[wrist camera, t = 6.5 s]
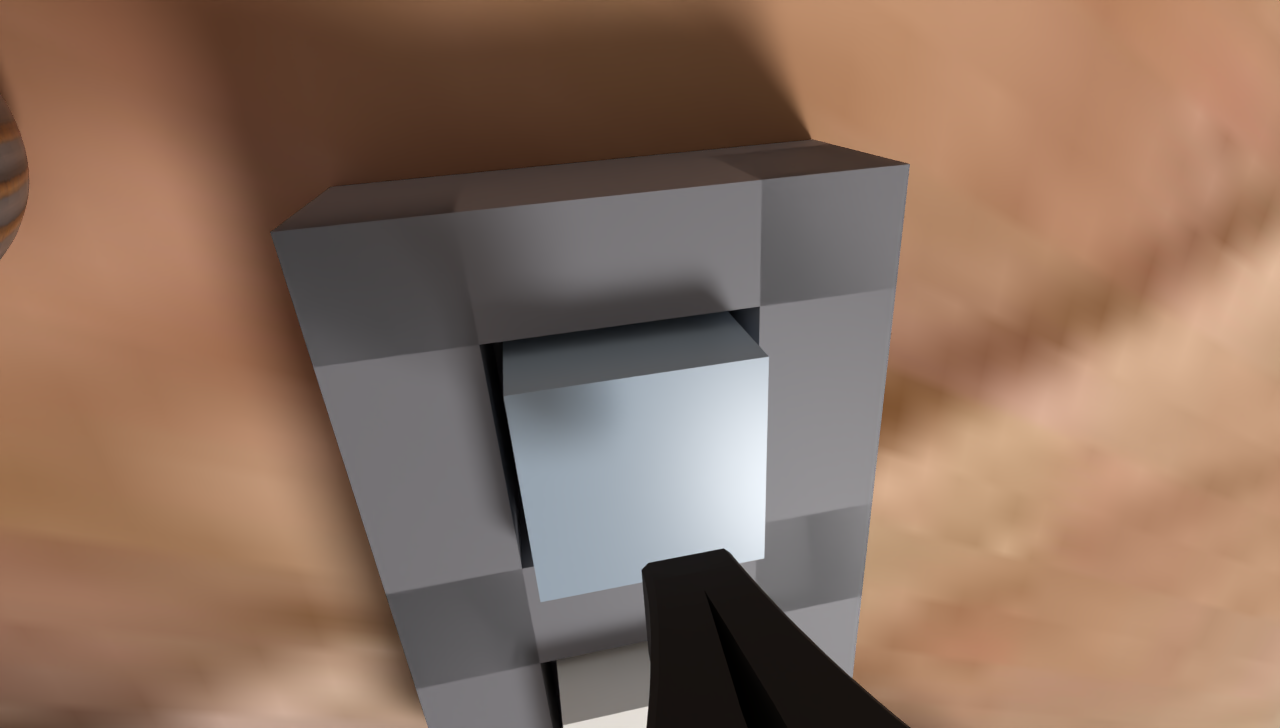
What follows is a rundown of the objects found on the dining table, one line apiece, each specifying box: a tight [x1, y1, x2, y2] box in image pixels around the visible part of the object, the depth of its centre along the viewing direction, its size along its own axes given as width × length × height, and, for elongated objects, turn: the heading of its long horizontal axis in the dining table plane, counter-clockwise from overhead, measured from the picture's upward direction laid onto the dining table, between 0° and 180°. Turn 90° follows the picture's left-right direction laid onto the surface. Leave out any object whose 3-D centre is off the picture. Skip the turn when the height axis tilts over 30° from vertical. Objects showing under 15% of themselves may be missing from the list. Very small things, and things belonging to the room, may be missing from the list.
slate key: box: [503, 311, 769, 602], centre depth 15 cm, size 5×5×4 cm
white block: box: [557, 641, 650, 728], centre depth 19 cm, size 5×5×4 cm
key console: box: [270, 140, 910, 728], centre depth 18 cm, size 20×12×4 cm, turn 4°
